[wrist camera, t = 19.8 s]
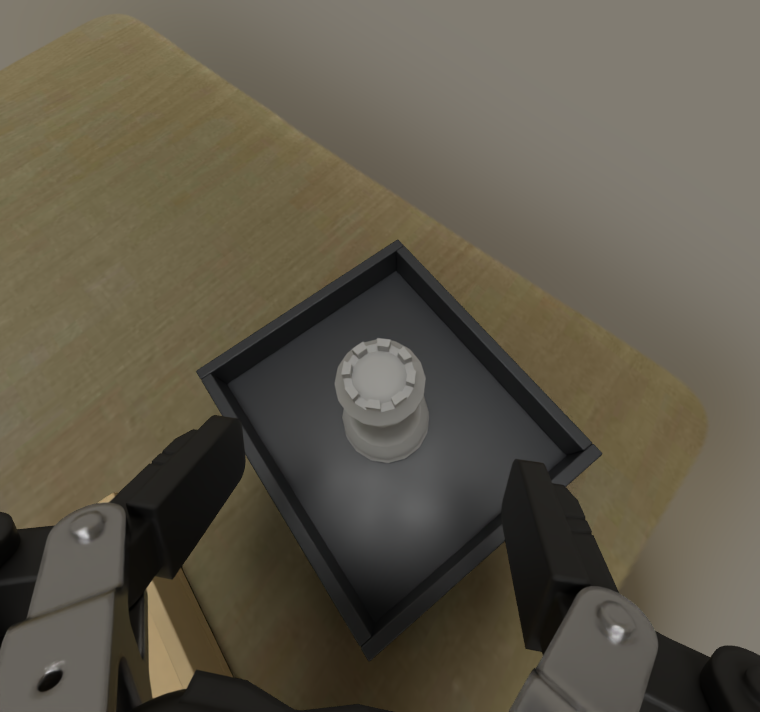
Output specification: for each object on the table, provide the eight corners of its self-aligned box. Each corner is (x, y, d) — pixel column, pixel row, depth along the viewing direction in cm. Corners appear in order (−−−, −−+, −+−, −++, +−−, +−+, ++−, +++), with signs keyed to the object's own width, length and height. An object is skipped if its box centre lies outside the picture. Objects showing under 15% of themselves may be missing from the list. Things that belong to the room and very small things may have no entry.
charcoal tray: (579, 459, 20) (603, 453, 17) (372, 641, 17) (368, 662, 15) (397, 264, 24) (397, 238, 22) (216, 384, 22) (195, 370, 20)
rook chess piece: (405, 367, 21) (408, 294, 14) (443, 440, 20) (470, 402, 12) (331, 401, 21) (293, 344, 13) (365, 479, 19) (343, 463, 12)
